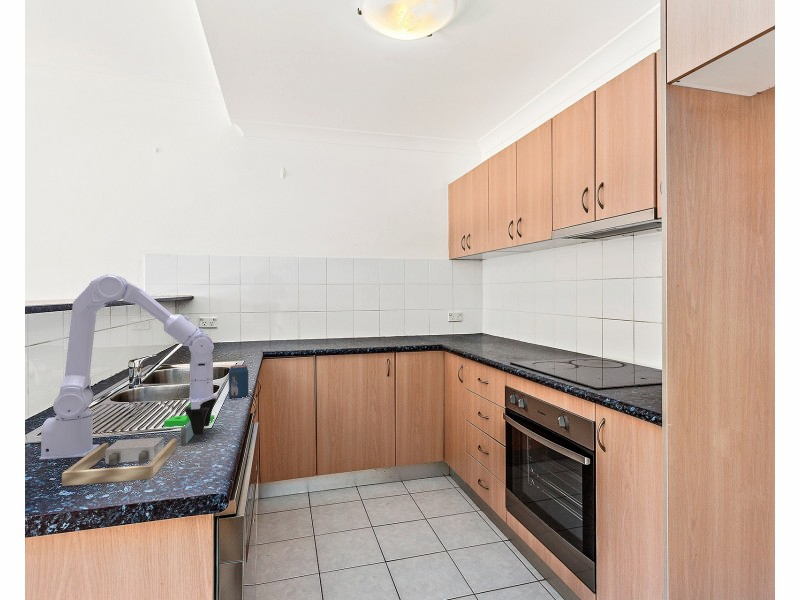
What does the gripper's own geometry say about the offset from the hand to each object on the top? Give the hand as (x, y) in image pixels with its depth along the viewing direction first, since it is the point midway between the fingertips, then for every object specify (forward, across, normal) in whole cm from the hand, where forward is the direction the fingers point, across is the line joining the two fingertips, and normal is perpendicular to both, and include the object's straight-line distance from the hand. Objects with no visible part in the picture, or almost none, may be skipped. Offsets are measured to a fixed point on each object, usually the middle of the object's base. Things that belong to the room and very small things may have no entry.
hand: (201, 430), depth 119 cm
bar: (+2, -7, +3) cm, 8 cm away
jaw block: (+2, -13, +12) cm, 17 cm away
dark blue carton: (+2, +48, -3) cm, 48 cm away
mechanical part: (+2, +14, +6) cm, 16 cm away
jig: (+2, -18, +12) cm, 22 cm away
